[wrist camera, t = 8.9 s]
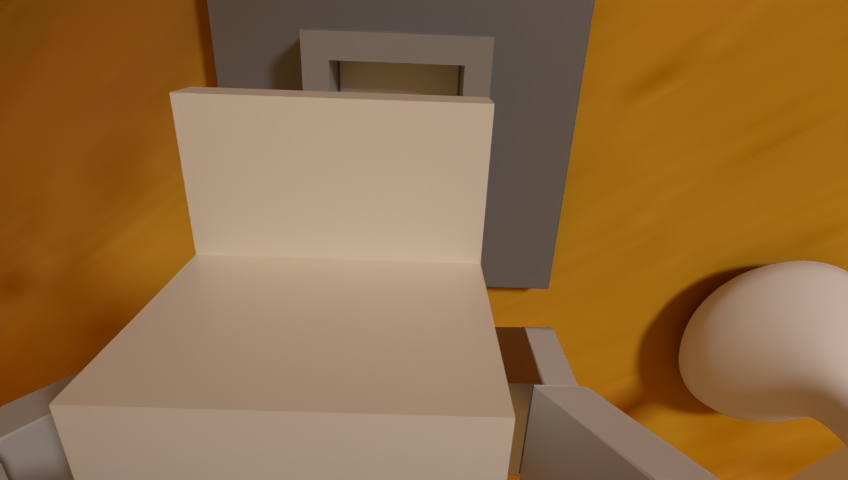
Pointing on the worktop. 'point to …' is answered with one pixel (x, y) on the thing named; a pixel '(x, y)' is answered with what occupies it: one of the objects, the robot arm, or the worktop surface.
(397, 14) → the plate
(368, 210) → the block
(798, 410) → the flower in vase
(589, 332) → the worktop surface
